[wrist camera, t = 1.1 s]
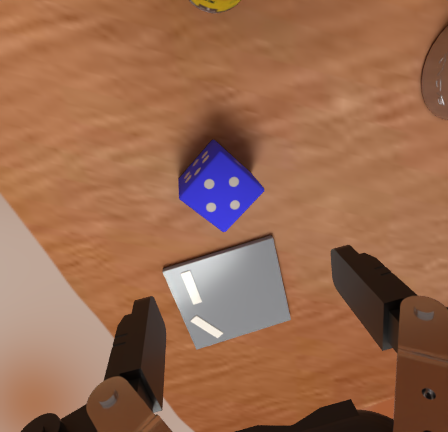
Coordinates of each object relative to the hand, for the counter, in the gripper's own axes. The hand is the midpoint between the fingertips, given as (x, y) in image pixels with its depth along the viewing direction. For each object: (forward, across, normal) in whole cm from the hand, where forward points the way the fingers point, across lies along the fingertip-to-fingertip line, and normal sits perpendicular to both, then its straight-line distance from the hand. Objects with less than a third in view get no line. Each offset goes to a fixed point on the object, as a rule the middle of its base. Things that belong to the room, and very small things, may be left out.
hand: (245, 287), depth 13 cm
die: (+17, 0, 0) cm, 17 cm away
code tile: (+16, +1, +14) cm, 22 cm away
